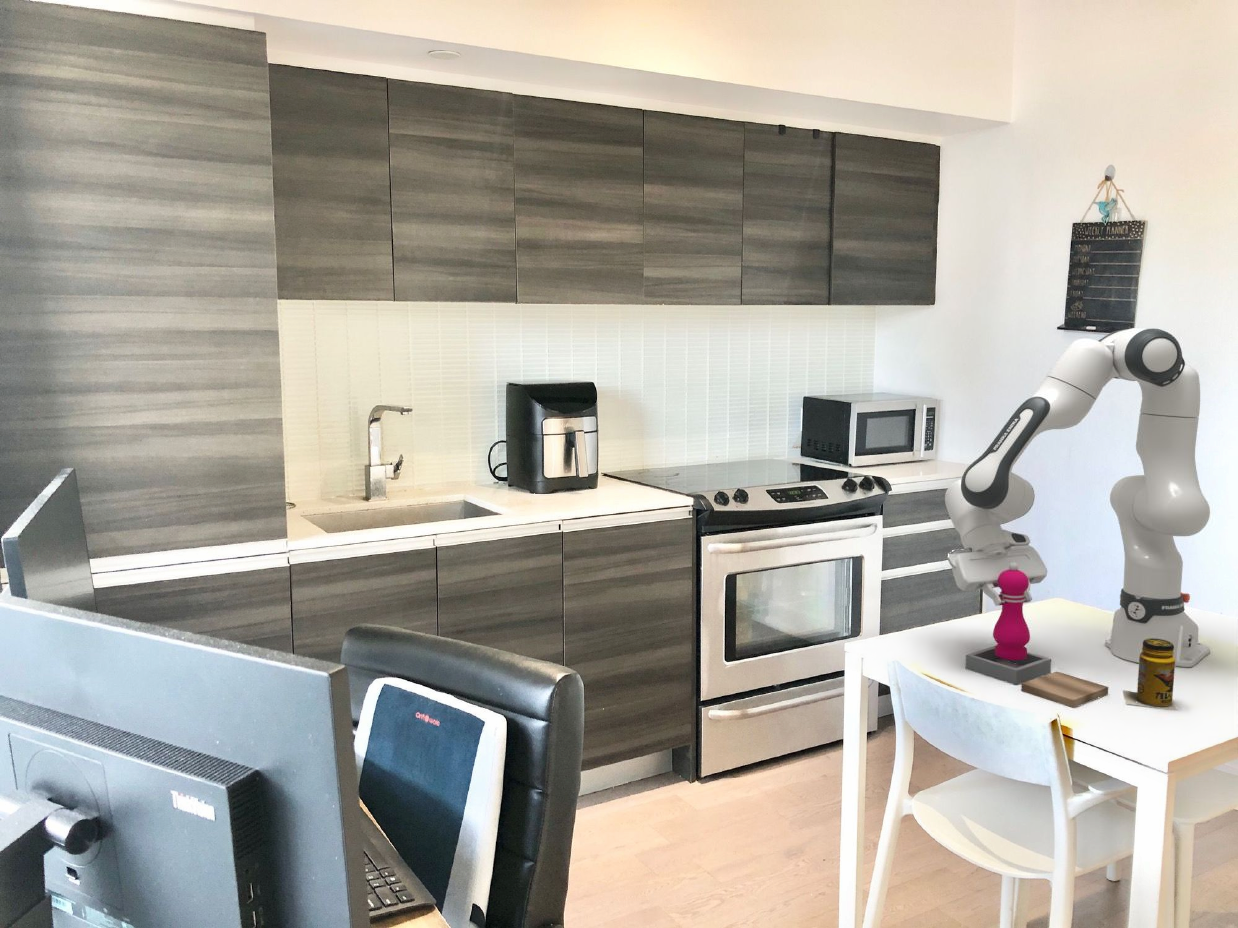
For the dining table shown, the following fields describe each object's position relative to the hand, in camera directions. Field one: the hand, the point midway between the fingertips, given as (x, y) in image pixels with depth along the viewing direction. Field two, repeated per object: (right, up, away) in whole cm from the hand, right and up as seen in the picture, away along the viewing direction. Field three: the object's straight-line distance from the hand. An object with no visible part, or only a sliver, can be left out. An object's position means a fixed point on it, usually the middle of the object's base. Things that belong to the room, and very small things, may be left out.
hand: (1014, 602), depth 207 cm
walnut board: (+6, -16, -10) cm, 20 cm away
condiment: (+20, -17, -14) cm, 30 cm away
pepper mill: (0, -12, +2) cm, 12 cm away
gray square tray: (0, -15, +3) cm, 15 cm away
